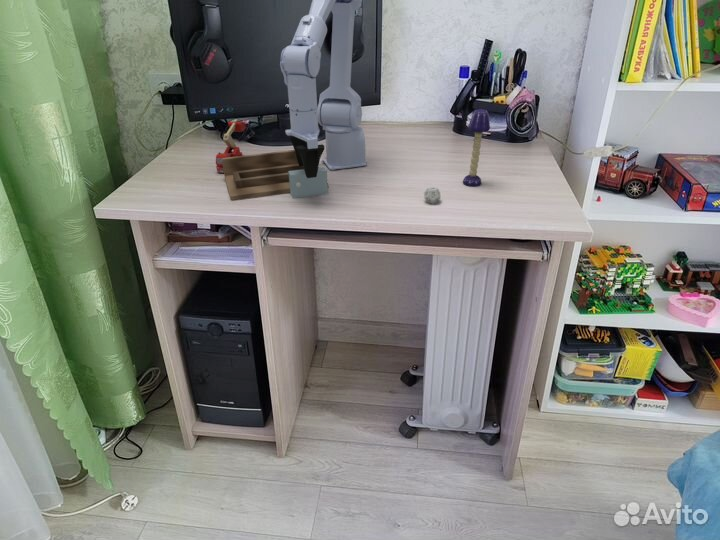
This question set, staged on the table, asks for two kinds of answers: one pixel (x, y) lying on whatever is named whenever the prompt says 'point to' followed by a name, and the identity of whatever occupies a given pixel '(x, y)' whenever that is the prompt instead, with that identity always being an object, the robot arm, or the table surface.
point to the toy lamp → (476, 144)
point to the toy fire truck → (230, 144)
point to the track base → (259, 174)
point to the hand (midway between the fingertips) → (307, 171)
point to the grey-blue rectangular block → (308, 183)
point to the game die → (432, 195)
